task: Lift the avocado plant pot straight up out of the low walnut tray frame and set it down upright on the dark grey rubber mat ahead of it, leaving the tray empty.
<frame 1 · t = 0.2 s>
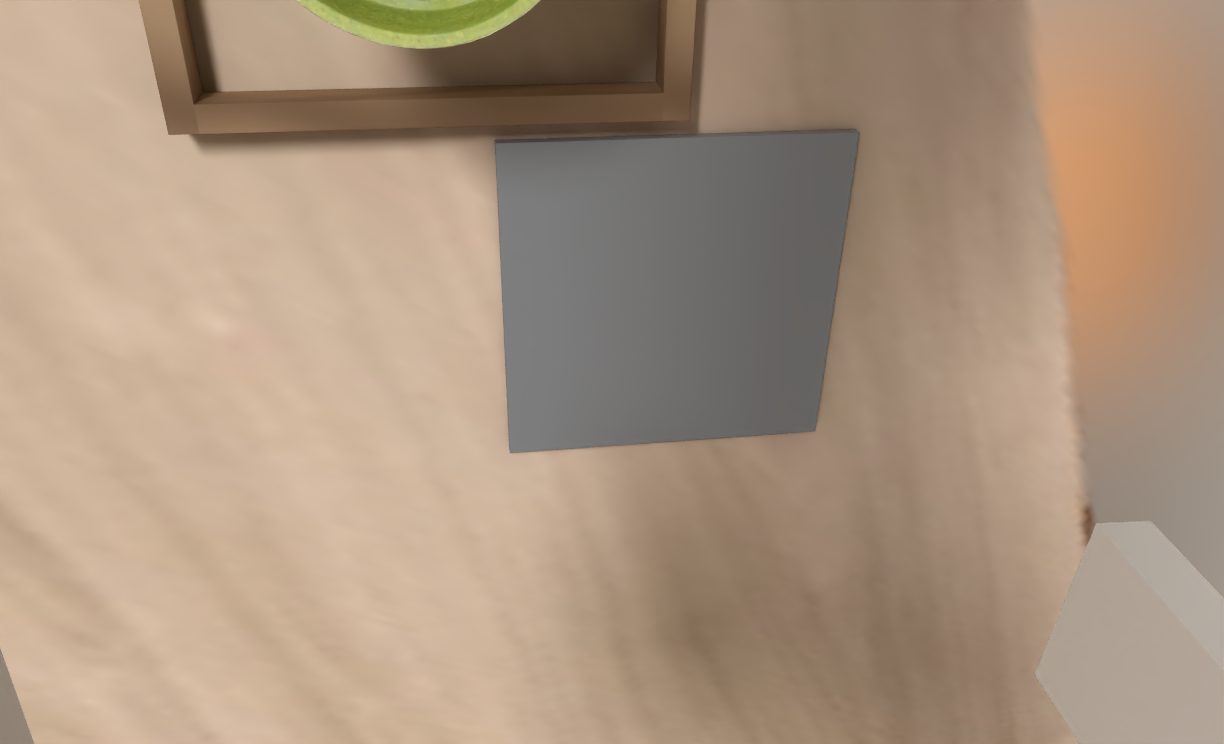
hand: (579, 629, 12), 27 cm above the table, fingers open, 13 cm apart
mat: (671, 299, 41), on the table
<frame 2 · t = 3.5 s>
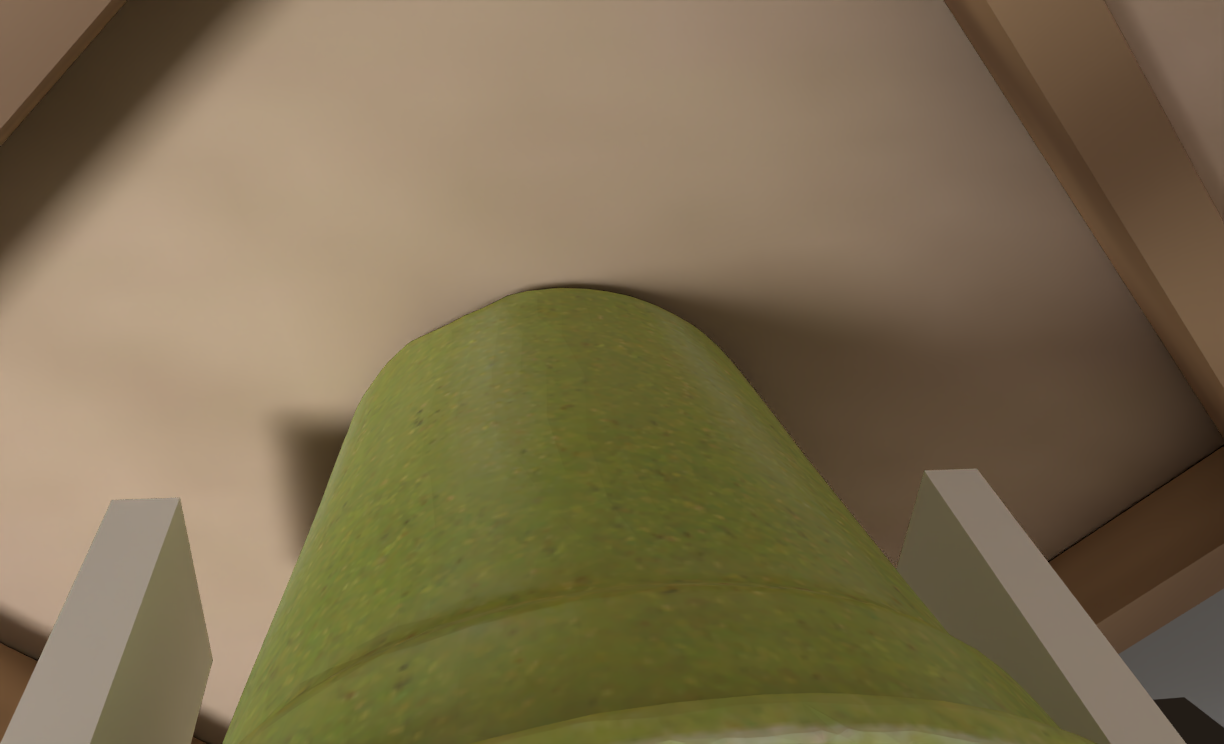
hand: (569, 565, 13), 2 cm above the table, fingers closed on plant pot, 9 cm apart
plant pot: (552, 459, 15), resting in tray frame, touching gripper
tray frame: (554, 466, 15), on the table
when the fingers open (3 cm above the table, at t = 8.9 s): plant pot stays where it is, resting on mat.
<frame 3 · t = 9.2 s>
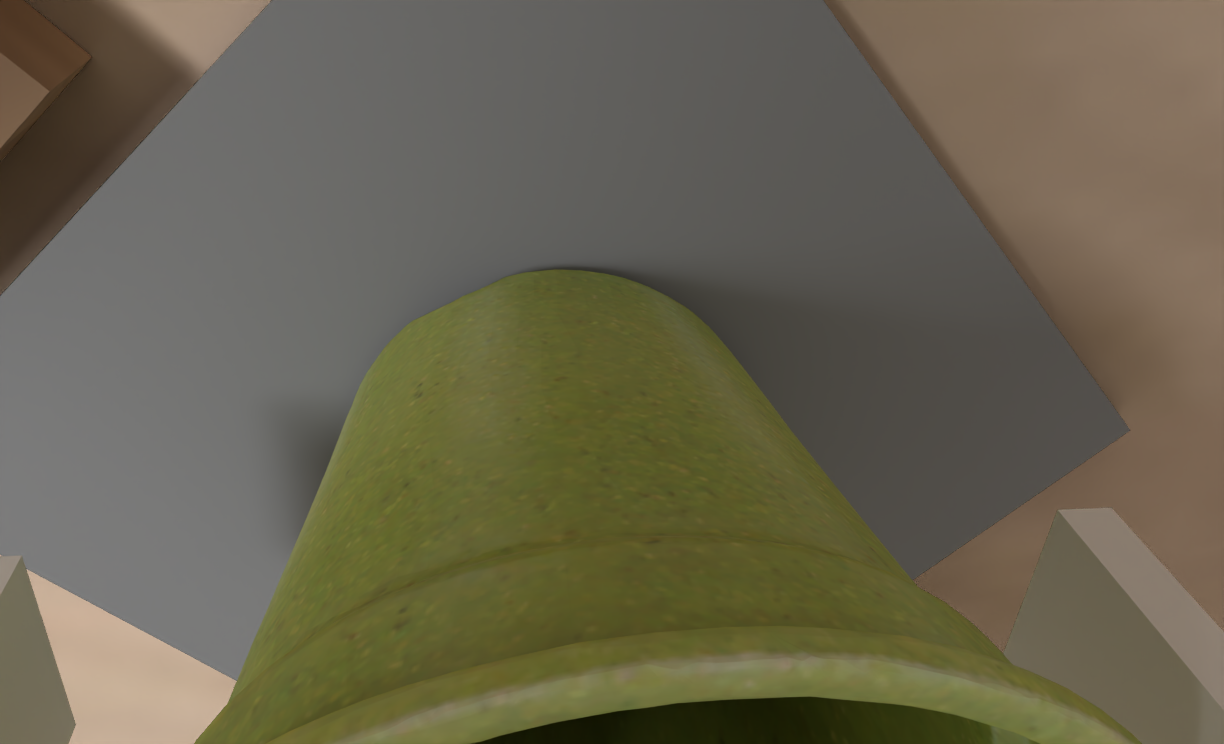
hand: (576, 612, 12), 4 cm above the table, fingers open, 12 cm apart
plant pot: (549, 438, 15), resting on mat
mat: (548, 433, 16), on the table
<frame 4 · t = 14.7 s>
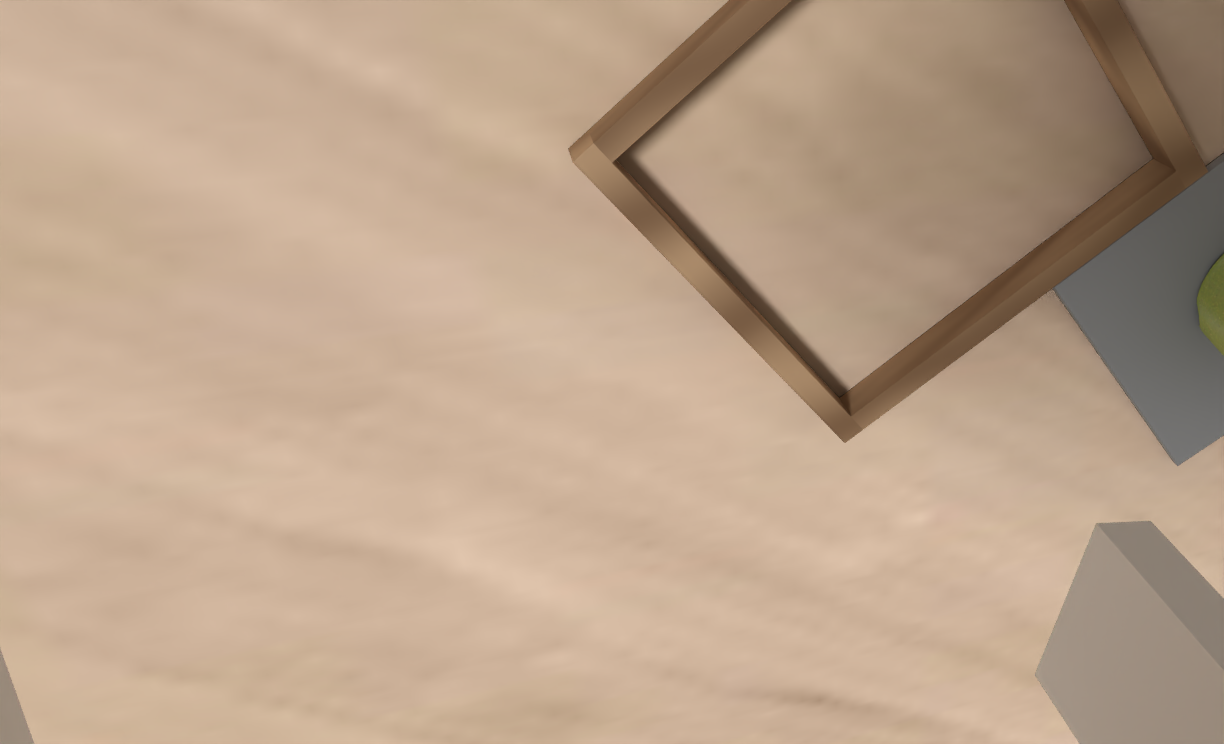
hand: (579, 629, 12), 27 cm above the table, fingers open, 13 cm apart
tray frame: (892, 154, 38), on the table
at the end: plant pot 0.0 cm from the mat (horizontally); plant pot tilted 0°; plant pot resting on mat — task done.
